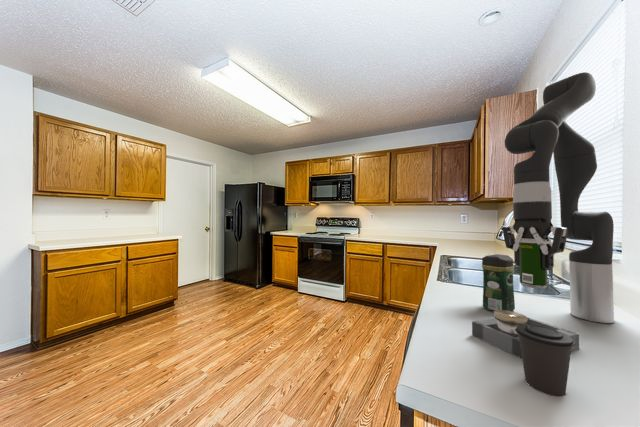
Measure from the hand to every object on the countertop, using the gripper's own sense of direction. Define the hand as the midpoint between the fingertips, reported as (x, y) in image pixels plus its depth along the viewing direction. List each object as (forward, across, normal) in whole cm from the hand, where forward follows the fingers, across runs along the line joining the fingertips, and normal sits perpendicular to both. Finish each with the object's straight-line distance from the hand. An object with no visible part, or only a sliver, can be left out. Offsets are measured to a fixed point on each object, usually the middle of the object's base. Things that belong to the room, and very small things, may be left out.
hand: (532, 267), depth 63 cm
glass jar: (+18, 0, +8) cm, 20 cm away
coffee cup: (+18, -13, +19) cm, 29 cm away
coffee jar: (+18, +19, -13) cm, 29 cm away
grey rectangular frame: (+18, 0, +4) cm, 18 cm away
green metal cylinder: (+5, 0, 0) cm, 5 cm away
